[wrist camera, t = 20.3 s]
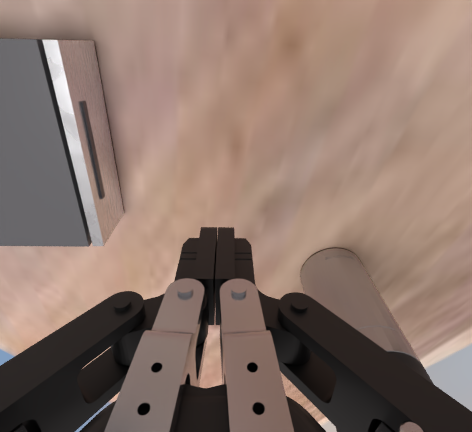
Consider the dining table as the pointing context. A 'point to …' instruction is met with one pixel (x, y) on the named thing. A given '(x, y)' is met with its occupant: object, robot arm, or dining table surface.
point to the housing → (35, 155)
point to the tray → (87, 132)
